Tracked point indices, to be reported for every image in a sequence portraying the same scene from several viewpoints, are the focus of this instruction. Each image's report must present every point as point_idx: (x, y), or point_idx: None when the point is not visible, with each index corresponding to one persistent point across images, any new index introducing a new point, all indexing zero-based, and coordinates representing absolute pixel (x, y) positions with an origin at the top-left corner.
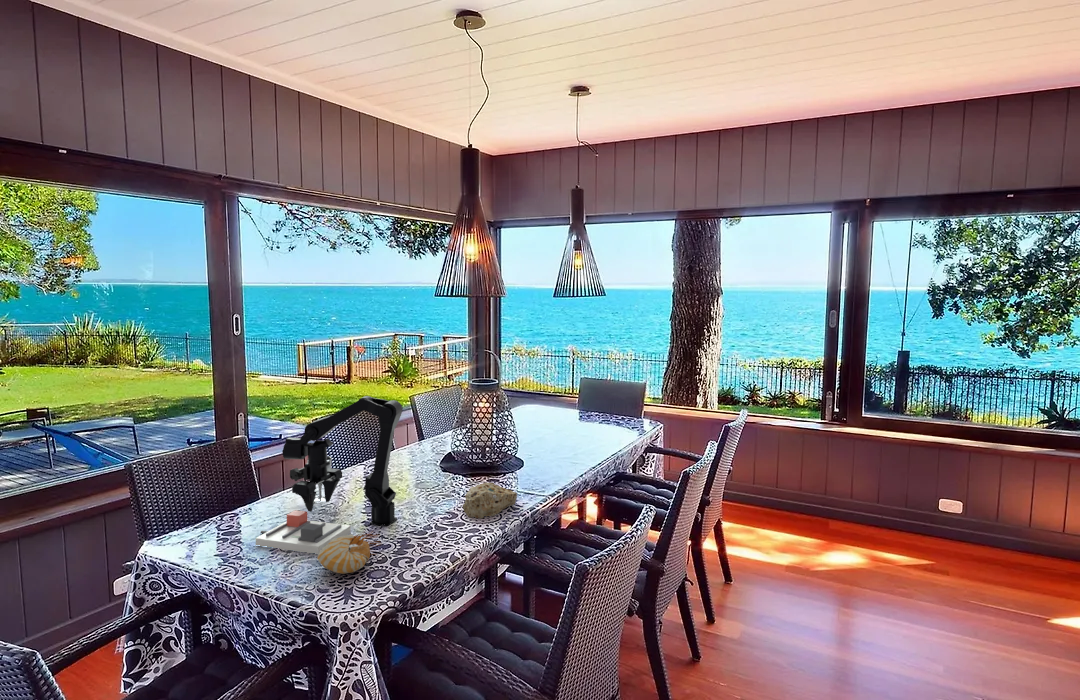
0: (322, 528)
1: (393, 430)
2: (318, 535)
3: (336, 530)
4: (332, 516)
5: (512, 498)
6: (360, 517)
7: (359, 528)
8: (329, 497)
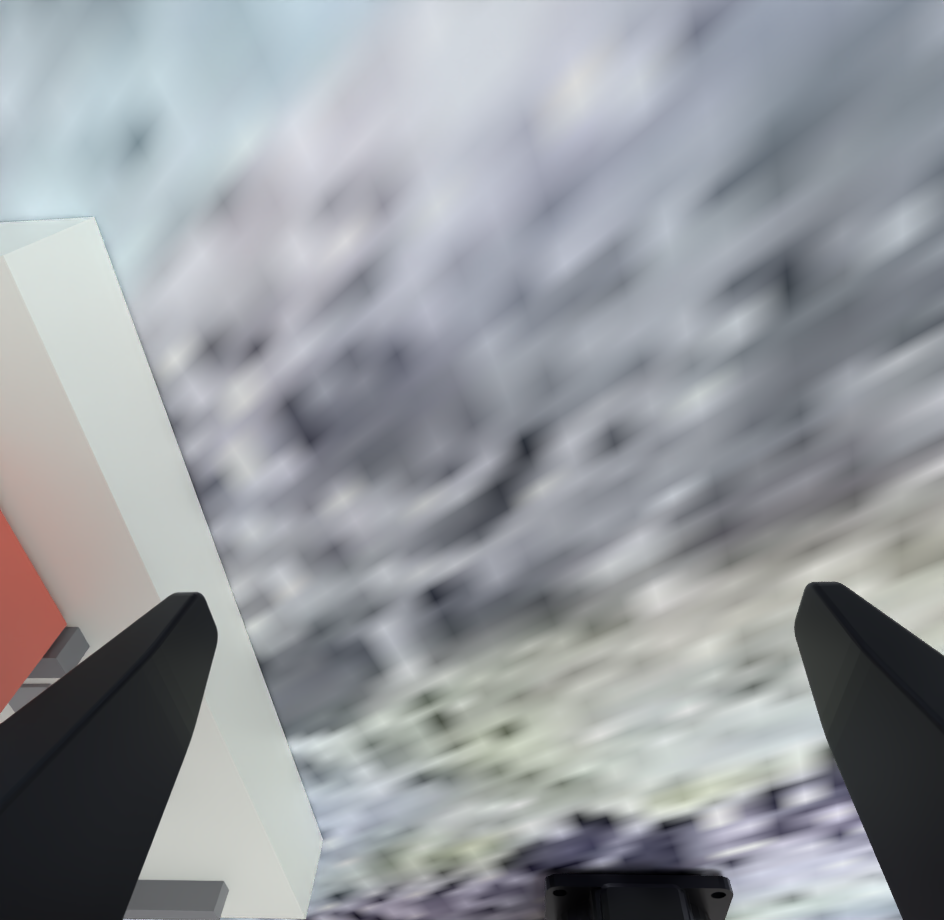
0: None
1: None
2: None
3: (148, 889)
4: (671, 532)
5: None
6: (697, 769)
7: (439, 846)
8: (834, 745)
